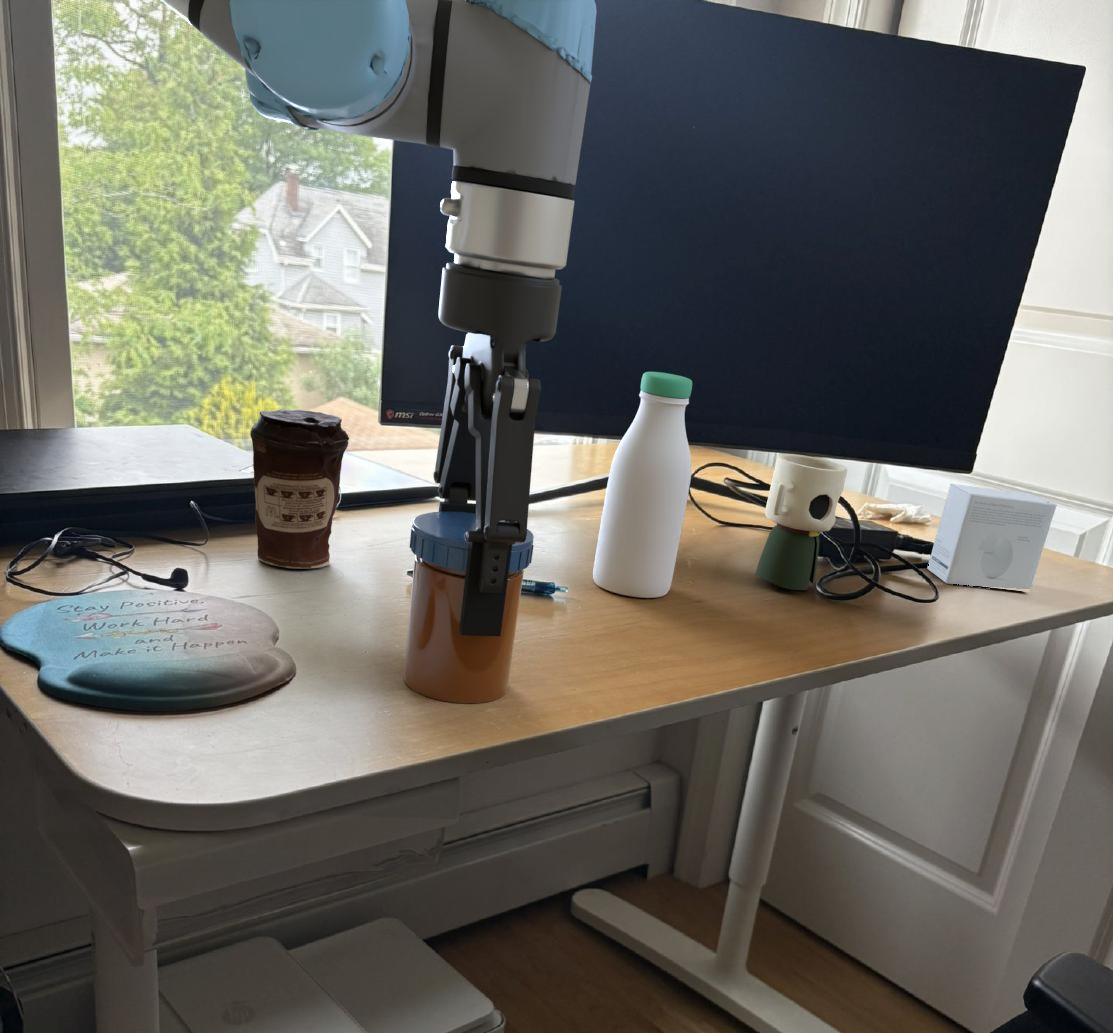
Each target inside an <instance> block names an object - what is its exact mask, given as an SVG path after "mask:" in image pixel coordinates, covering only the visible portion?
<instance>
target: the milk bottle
mask: <svg viewBox="0 0 1113 1033" xmlns="http://www.w3.org/2000/svg"><path fill="white" fill-rule="evenodd" d="M692 390H693V381H692V379H691V378H689V377H686V376H682V375H677V374H673V373H666V372H660V371H646V372H644V373H643V374H642V377H641V381H640V392H639V394H638V396H639V398H640V403H639V407H638V409H637V412H636V414H635V417H634V419H633V421H632V422H631V424H630V426H629V427H628V429H627V431H626V432H625V433H624V435H623V437H622V438H621V440H620V442H619V444H618V446H617V447H616V450H615V452H614V455H613V458H612V461H611V464H610V469H609V474H608V480H607V485H606V490H605V497H604V502H603V508H602V513H601V519H600V526H599V531H598V536H597V537H598V538H597V543H596V550H595V557H594V562H593V570H592V578H593V581H594V583H595V584H596V585H597V586H598V587H600V588H602V589H604V590H606V591H609V592H611V593H615V594H618V595H622V596H627V597H631V598H632V597H633V598H641V599H642V598H644V599H645V598H646V599H650V598H651V599H652V598H661V597H663V596H665V595H667V594H668V593H669V591H670V589H671V587H672V582H673V577H674V572H675V566H676V562H677V557H678V551H679V546H680V543H681V542H680V541H681V536H682V530H683V525H684V520H685V514H686V509H687V504H688V500H689V499H688V498H689V492H690V485H691V479H692V455H691V449H690V445H689V441H688V437H687V430H686V422H685V420H686V419H685V417H686V416H685V414H686V413H685V412H686V407H687V406H688V405H689V404H690V398H691V394H692Z"/></svg>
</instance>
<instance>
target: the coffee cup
mask: <svg viewBox="0 0 1113 1033" xmlns="http://www.w3.org/2000/svg"><path fill="white" fill-rule="evenodd" d="M259 415H260V417H259V419H258V420H257V422H256V423H254V424H253V425H252V427H251V429H250V433H249V435H250V438H251V443H252V444H251V445H252V456H253V457H252V460H253V461H252V468H253V488H254V496H255V512H254V513H255V517H254V522H255V530H256V538H257V559H258V560H259V561H260V562H262V563H265V564H267V565H270V566H275V567H281V568H287V569H298V570H299V569H300V570H301V569H318V568H323V567H326V566H329V565H330V556H331V555H330V542H329V540H330V536H331V534H332V525H333V519H334V516H335V513H336V510H337V504H338V500H339V495H340V485H341V484H340V483H341V472H342V464H343V458H344V455H345V452H346V450H347V448H348V446H349V441H350V437H349V435H348V433H347V431H346V430H344V429H343V428H342V421H343V419H342V418H341V417H339V416H336V415H333V414H328V413H324V412H320V411H312V410H303V409H275V410H262V411H259Z"/></svg>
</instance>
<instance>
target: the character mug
mask: <svg viewBox="0 0 1113 1033" xmlns="http://www.w3.org/2000/svg"><path fill="white" fill-rule="evenodd" d="M847 473H848V468H847V467H846V466H845V465H842V464H841V463H837V462H834V461H831V460H828V459H824V458H820V457H815V456H809V455H803V454H793V453H782V454H778V455H777V457H776V461H775V465H774V470H773V474H772V478H771V484H770V487H769V492H768V495H767V496H768V497H767V501H766V504H765V514H764V515H765V518H767V519H768V520H770V521H772V522H773V523H775V524H776V525H774V526H773V528H772V529H771V530H770V532H769V533H768V536H767V539H766V541H765V543H764V546H763V549H762V552H761V554H760V558H759V561H758V563H757V566H756V569H755V573H754V575H755V576H757V577H758V578H760V579H763V580H765V581H767V582H769V583H772V584H773V588H776V589H777V588H779V587H780V588H782V589H787V590H792V591H793V590H794V591H808V589H809V584H810V583H811V584H812V585H811V589H814V586H815V582H816V574H817V570H818V562H819V552H820V551H819V549H820V537H819V536H820V534H821V532H829V531H831V530H832V528H833V527H834V526H835V523H836V510H837V505H838V503H839V500H840V497H841V496H842V493H843V492H844V486H845V481H846V477H847Z"/></svg>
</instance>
